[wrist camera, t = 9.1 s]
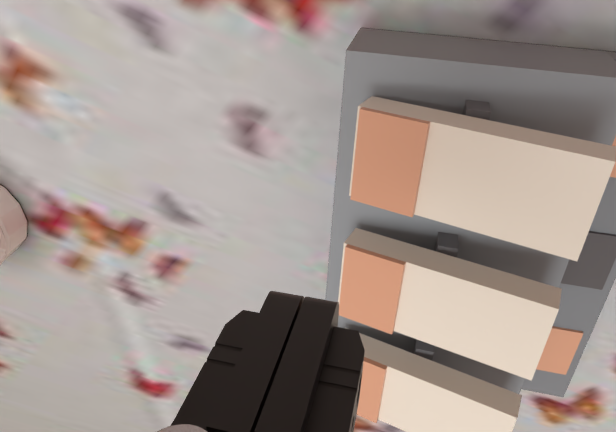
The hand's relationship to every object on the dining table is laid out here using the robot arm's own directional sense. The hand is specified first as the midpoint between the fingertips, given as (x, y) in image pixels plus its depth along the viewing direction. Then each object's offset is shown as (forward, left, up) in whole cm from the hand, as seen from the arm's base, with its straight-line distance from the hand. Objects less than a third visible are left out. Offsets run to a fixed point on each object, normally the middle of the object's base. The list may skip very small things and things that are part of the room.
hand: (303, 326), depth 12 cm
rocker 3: (-4, +16, -13) cm, 21 cm away
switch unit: (-4, +9, -20) cm, 23 cm away
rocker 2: (-4, +9, -13) cm, 16 cm away
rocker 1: (-4, +2, -13) cm, 14 cm away
